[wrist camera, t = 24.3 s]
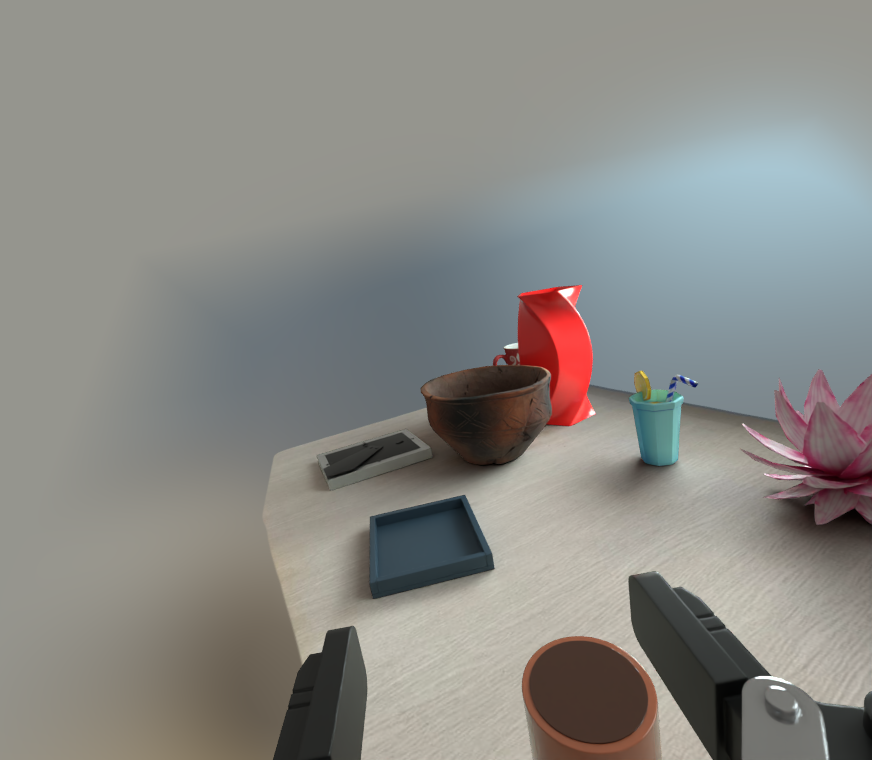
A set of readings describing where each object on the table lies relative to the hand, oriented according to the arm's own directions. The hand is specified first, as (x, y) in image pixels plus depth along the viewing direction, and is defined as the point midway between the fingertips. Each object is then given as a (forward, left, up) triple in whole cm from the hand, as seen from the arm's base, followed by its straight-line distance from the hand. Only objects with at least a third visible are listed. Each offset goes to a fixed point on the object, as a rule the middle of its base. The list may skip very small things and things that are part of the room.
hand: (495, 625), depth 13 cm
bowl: (+16, +69, -25) cm, 75 cm away
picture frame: (-8, +78, -25) cm, 82 cm away
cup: (+39, +51, -25) cm, 69 cm away
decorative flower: (+49, +31, -25) cm, 63 cm away
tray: (-1, +43, -24) cm, 49 cm away
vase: (+34, +81, -25) cm, 91 cm away
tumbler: (+5, +7, -24) cm, 25 cm away
